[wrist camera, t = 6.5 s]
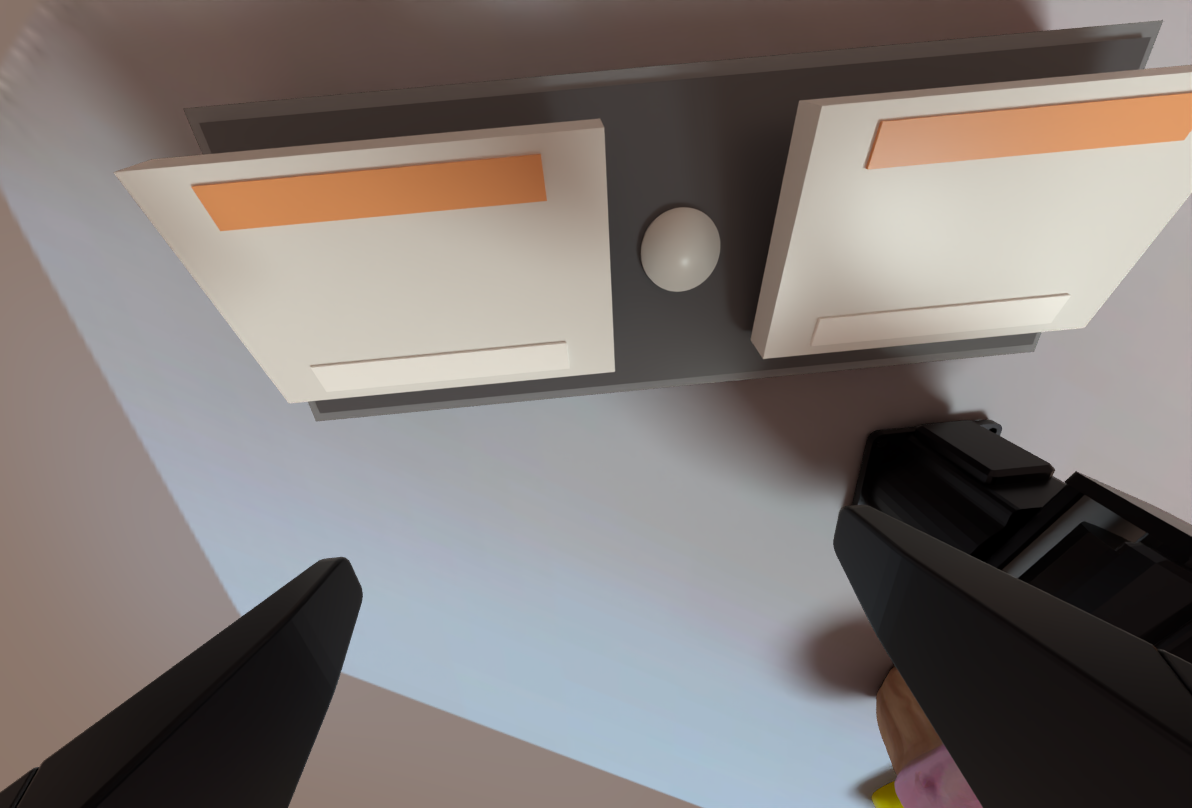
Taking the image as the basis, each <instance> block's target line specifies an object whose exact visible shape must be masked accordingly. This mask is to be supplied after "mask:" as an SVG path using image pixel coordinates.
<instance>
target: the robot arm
mask: <svg viewBox="0 0 1192 808" xmlns="http://www.w3.org/2000/svg"><path fill="white" fill-rule="evenodd" d="M1001 431H1002V427H1001V425H1000V424H998V423H996V422H994V421H992V420H979V421H971V420H965V421H955V422H945V423H935V424H924V425H921V426H918V427H908V428H898V429H888V430H879V431H875V432H873V433H872V434H871V435H870V436H869V437H868V439H867V443H866V447H865V451H864V456H863V460H862V464H861V469H860V473H859V477H858V482H857V486H856V490H855V495H854V499H853V503H852V506H845V507H843V508H842V509H841V510H840V512H839V516H838V521H837V525H836V530H835V535H834V540H833V545H834V550H835V553H836V555H837V557H838V559H839V561H840V563H841V565H842V567H843V569H844V571H845V573H846V575H847V577H848V579H849V581H850V583H851V585H852V588H853V590H854V592H855V594H856V596H857V598H858V600H859V602H860V604H861V606H862V608H863V610H864V612H865V614H866V616H867V618H868V620H869V622H870V624H871V626H872V627H873V629H874V631H875V633H876V635H877V637H878V638H879V640H880V642H881V644H882V645H883V647H884V649H885V650H886V652H887V654H888V655H889V657H890V658H891V660H892V662H893V663H894V665H895V666H896V668H897V670H898V671H899V673H900V675H901V676H902V678H903V679H904V681H905V683H906V684H907V686H908V688H909V689H910V691H911V692H912V694H913V696H914V697H915V699H916V700H917V702H918V704H919V705H920V707H921V709H922V710H923V712H924V713H925V715H926V717H927V718H928V720H929V721H930V723H931V725H932V726H933V728H934V730H935V731H936V733H937V734H938V736H939V738H940V739H941V741H942V743H943V744H944V746H945V747H946V749H947V751H948V752H949V754H950V755H951V757H952V759H953V760H954V762H955V764H956V765H957V767H958V768H959V770H960V772H961V773H962V775H963V776H964V778H965V780H966V781H967V783H968V785H969V786H970V788H971V789H972V791H973V793H974V794H975V796H976V798H977V799H978V801H979V802H980V804H981V806H982V807H983V808H1192V525H1191V524H1189V523H1187V522H1185V521H1183V520H1181V519H1179V518H1177V517H1175V516H1173V515H1171V514H1169V513H1167V512H1165V511H1163V510H1161V509H1159V508H1157V507H1155V506H1153V505H1151V504H1149V503H1147V502H1144V501H1142V500H1140V499H1138V498H1135V497H1133V496H1131V495H1129V494H1126V493H1124V492H1122V491H1120V490H1117V489H1115V488H1113V487H1111V486H1108V485H1106V484H1104V483H1101V482H1099V481H1097V480H1095V479H1092V478H1090V477H1088V476H1086V475H1083V474H1081V473H1079V472H1077V471H1076V472H1075V473H1073V474H1072V475H1071V476H1070V477H1069V478H1068V479H1067V480H1066V481H1065V483H1064V482H1062V481H1060V480H1059V479H1057V478H1055V477H1053V473H1054V471H1055V469H1054V468H1053V467H1052V466H1051V464H1050V463H1048V462H1046V461H1044V460H1042V459H1041V458H1039V457H1037V456H1035V455H1033V454H1031V453H1030V452H1028V451H1026V450H1024V449H1022V448H1021V447H1019V446H1017V445H1015V444H1013V443H1011V442H1010V441H1008V440H1006V439H1004V438H1002V437H1000V434H1001ZM880 439H881V441H880V442H879V443H878V441H879V440H880ZM362 597H363V592H362V587H361V585H360V583H359V581H358V578H357V576H356V574H355V572H354V570H353V568H352V565H351V563H350V562H349V560H348V559H346V558H345V557H336V558H326V559H322V560H319V561H318V562H316V563H315V564H313V565H312V566H311V567H309V568H308V569H307V570H305V571H304V572H302V573H301V574H300V575H298V576H297V577H296V578H294V579H293V580H291V581H290V582H289V583H287V584H286V585H285V586H283V587H282V588H280V589H279V590H278V591H276V592H275V593H274V594H272V595H271V596H269V597H268V598H267V599H265V600H264V601H263V602H261V603H260V604H258V605H257V606H256V607H254V608H253V609H252V610H250V611H249V612H247V613H246V614H245V615H243V616H242V617H241V618H239V619H238V620H236V621H235V622H234V623H232V624H231V625H230V626H228V627H227V628H225V629H224V630H223V631H221V632H220V633H219V634H217V635H216V636H214V637H213V638H212V639H210V640H209V641H208V642H206V643H205V644H203V645H202V646H201V647H199V648H198V649H197V650H195V651H194V652H192V653H191V654H190V655H189V656H187V657H186V658H184V659H183V660H182V661H180V662H179V663H177V664H176V665H175V666H173V667H172V668H171V669H169V670H168V671H166V672H165V673H164V674H162V675H161V676H160V677H158V678H157V679H156V680H154V681H153V682H151V683H150V684H149V685H147V686H146V687H144V688H143V689H142V690H140V691H139V692H138V693H136V694H135V695H133V696H132V697H131V698H129V699H128V700H127V701H125V702H124V703H122V704H121V705H120V706H119V707H117V708H116V709H114V710H113V711H111V712H110V713H109V714H107V715H106V716H105V717H103V718H102V719H101V720H99V721H98V722H96V723H95V724H94V725H92V726H91V727H89V728H88V729H87V730H85V731H84V732H83V733H81V734H80V735H78V736H77V737H76V738H74V739H73V740H72V741H70V742H69V743H67V744H66V745H65V746H63V747H62V748H61V749H59V750H58V751H57V752H55V753H54V754H52V755H51V756H50V757H48V758H47V759H46V760H44V761H43V762H42V764H41V765H40V767H36V768H33V769H32V770H30V771H29V772H27V773H26V774H25V775H23V776H22V777H21V778H19V779H18V780H16V781H15V782H14V783H12V784H11V785H10V786H8V787H7V788H6V789H4V790H3V791H1V792H0V808H288V806H289V804H290V801H291V799H292V796H293V793H294V792H295V789H296V786H297V784H298V782H299V779H300V777H301V774H302V772H303V769H304V767H305V764H306V762H307V759H308V757H309V754H310V752H311V749H312V747H313V745H314V742H315V739H316V737H317V735H318V732H319V730H320V727H321V725H322V722H323V720H324V717H325V715H326V712H327V710H328V707H329V705H330V702H331V699H332V697H333V694H334V692H335V689H336V685H337V683H338V680H339V677H340V673H341V670H342V667H343V663H344V660H345V657H346V653H347V650H348V647H349V643H350V640H351V637H352V633H353V630H354V627H355V623H356V620H357V617H358V613H359V610H360V607H361V603H362Z"/></svg>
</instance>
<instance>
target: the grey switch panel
mask: <svg viewBox="0 0 1192 808" xmlns="http://www.w3.org/2000/svg"><path fill="white" fill-rule="evenodd" d="M1162 22H1163V20H1161V21H1150V22H1139V23H1128V24H1117V25H1105V26H1094V27H1083V28H1072V29H1061V30H1050V31H1039V32H1028V33H1017V34H1006V35H994V36H983V37H972V38H961V39H950V40H939V41H928V42H917V43H906V44H895V45H883V46H872V47H861V48H850V49H839V50H828V51H817V52H806V53H795V54H783V55H772V56H761V57H750V58H739V59H728V60H717V61H706V62H695V63H684V64H672V65H661V66H650V67H639V68H628V69H617V70H606V71H595V72H584V73H572V74H561V75H550V76H539V77H528V78H517V79H506V80H495V81H484V82H473V83H461V84H450V85H439V86H428V87H417V88H406V89H395V90H384V91H373V92H361V93H350V94H339V95H328V96H317V97H306V98H295V99H284V100H273V101H262V102H250V103H239V104H228V105H217V106H206V107H195V108H184V112H185V114H186V116H187V119H188V121H189V123H190V126H191V128H192V130H193V133H194V135H195V138H196V140H197V142H198V145H199V147H200V149H201V152H202V154H203V155H205V154H216V153H227V152H238V151H249V150H260V149H271V148H282V147H293V146H304V145H315V144H326V143H337V142H348V141H359V140H370V139H381V138H392V137H402V136H413V135H424V134H435V133H446V132H457V131H468V130H479V129H490V128H501V127H512V126H523V125H534V124H545V123H556V122H567V121H578V120H589V119H601V122H602V124H603V126H604V133H605V155H606V178H607V201H608V223H609V246H610V269H611V291H612V314H613V337H614V359H615V372H608V373H598V374H587V375H577V376H567V377H556V378H546V379H536V380H525V381H515V382H505V383H494V384H484V385H474V386H463V387H453V388H443V389H432V390H422V391H412V392H401V393H391V394H381V395H370V396H360V397H350V398H339V399H329V400H319V401H308V403H309V406H310V408H311V410H312V413H313V415H314V417H315V420H316V421H325V420H336V419H346V418H356V417H367V416H377V415H387V414H397V413H408V412H418V411H428V410H439V409H449V408H459V407H470V406H480V405H490V404H500V403H511V402H521V401H531V400H542V399H552V398H562V397H572V396H583V395H593V394H603V393H614V392H624V391H634V390H644V389H655V388H665V387H675V386H686V385H696V384H706V383H717V382H727V381H737V380H747V379H758V378H768V377H778V376H789V375H799V374H809V373H819V372H830V371H840V370H850V369H861V368H871V367H881V366H891V365H902V364H912V363H922V362H933V361H943V360H953V359H963V358H974V357H984V356H994V355H1005V354H1015V353H1025V352H1034V350H1035V348H1036V345H1037V343H1038V340H1039V337H1040V335H1041V332H1036V333H1026V334H1015V335H1005V336H995V337H984V338H974V339H964V340H953V341H943V342H933V343H922V344H912V345H902V346H891V347H881V348H871V349H860V350H850V351H840V352H829V353H819V354H809V355H798V356H788V357H778V358H767V359H763V358H762V357H761V355H760V354H759V352H758V351H757V349H756V348H755V346H754V344H753V343H752V341H751V335H752V330H753V325H754V320H755V315H756V310H757V305H758V301H759V296H760V291H761V286H762V281H763V276H764V271H765V266H766V261H767V256H768V251H769V246H770V241H771V236H772V232H773V227H774V222H775V217H776V212H777V207H778V202H779V197H780V192H781V187H782V182H783V177H784V172H785V167H786V163H787V158H788V153H789V148H790V143H791V138H792V133H793V128H794V123H795V118H796V113H797V108H798V103H799V101H800V100H811V99H822V98H833V97H844V96H855V95H866V94H877V93H888V92H899V91H909V90H920V89H931V88H942V87H953V86H964V85H975V84H986V83H997V82H1008V81H1019V80H1030V79H1041V78H1052V77H1063V76H1074V75H1085V74H1096V73H1107V72H1118V71H1129V70H1140V69H1144V68H1145V66H1146V63H1147V61H1148V58H1149V56H1150V53H1151V50H1152V48H1153V45H1154V43H1155V40H1156V38H1157V35H1158V33H1159V30H1160V27H1161V25H1162Z"/></svg>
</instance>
